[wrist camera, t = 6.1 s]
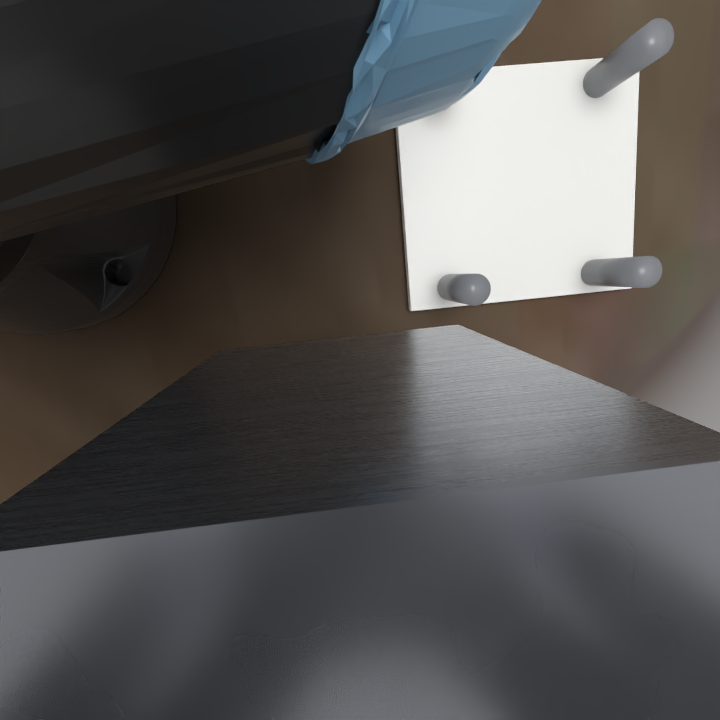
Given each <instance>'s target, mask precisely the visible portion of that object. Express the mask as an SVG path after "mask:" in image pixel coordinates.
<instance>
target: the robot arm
mask: <svg viewBox="0 0 720 720" xmlns="http://www.w3.org/2000/svg"><path fill="white" fill-rule="evenodd" d="M540 2H541V0H0V332H6V333H12V334H29V335H41V334H54V333H60V332H66V331H70V330H75V329H80V328H85V327H89V326H93V325H96V324H99V323H102V322H104V321H107V320H109V319H111V318H113V317H115V316H117V315H119V314H120V313H122V312H124V311H125V310H127V309H128V308H130V307H131V306H132V305H133V304H135V303H136V302H137V301H138V300H139V299H140V298H141V297H142V296H143V295H144V294H145V293H146V292H147V291H148V290H149V289H150V288H151V286H152V285H153V284H154V282H155V281H156V279H157V278H158V276H159V275H160V273H161V271H162V269H163V267H164V265H165V263H166V261H167V258H168V256H169V253H170V250H171V247H172V243H173V239H174V234H175V227H176V211H177V206H176V194H179V193H182V192H186V191H190V190H193V189H197V188H201V187H204V186H208V185H212V184H215V183H219V182H223V181H226V180H230V179H234V178H237V177H241V176H245V175H249V174H252V173H256V172H260V171H263V170H267V169H271V168H274V167H278V166H282V165H285V164H289V163H293V162H296V161H300V160H305V161H307V162H308V163H310V164H315V163H319V162H323V161H326V160H329V159H331V158H332V157H334V156H335V155H337V154H338V153H340V152H341V151H342V150H343V148H344V147H345V146H346V145H347V144H348V143H351V142H354V141H357V140H360V139H363V138H366V137H369V136H372V135H375V134H378V133H381V132H384V131H387V130H390V129H392V128H395V127H398V126H401V125H404V124H407V123H410V122H413V121H416V120H419V119H422V118H425V117H428V116H431V115H433V114H436V113H438V112H440V111H442V110H444V109H446V108H448V107H449V106H451V105H453V104H454V103H456V102H457V101H459V100H461V99H462V98H463V97H464V96H466V95H467V94H468V93H469V92H470V91H472V90H473V89H474V88H475V87H476V86H478V85H479V84H480V83H481V81H482V80H483V79H484V77H485V76H486V75H487V73H488V72H489V71H490V69H491V68H492V66H493V65H494V64H495V62H496V61H497V59H498V58H499V56H500V54H501V52H502V51H503V50H505V49H506V48H507V46H508V44H509V43H510V42H512V41H513V40H514V39H515V38H516V37H517V36H518V35H519V34H520V33H521V32H522V30H523V29H524V27H525V26H526V25H527V23H528V22H529V20H530V19H531V17H532V16H533V14H534V12H535V11H536V9H537V7H538V6H539V4H540Z"/></svg>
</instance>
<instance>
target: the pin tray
mask: <svg viewBox="0 0 720 720" xmlns="http://www.w3.org/2000/svg"><path fill="white" fill-rule="evenodd" d="M673 41H674V31H673V27H672V25H671V24H670V23H669V22H668V21H667V20H665V19H663V18H656V19H653V20H651V21H650V22H648V23H647V24H646V25H645V26H643V27H642V28H641V29H640V30H638V31H637V32H636V33H635V34H633V35H632V36H631V37H630V38H628V39H627V40H626V41H625V42H623V43H622V44H621V45H620V46H618V47H617V48H616V49H615V50H613V51H612V52H611V53H610V54H608V55H607V56H606V57H605V58H599V59H586V60H573V61H561V62H548V63H535V64H522V65H510V66H497V67H492V68H491V69H490V71H489V72H488V73H487V75H486V76H485V77H484V79H483V80H482V81H481V83H480V84H479V85H478V86H476V87H475V88H474V89H473V90H472V91H470V92H469V93H468V94H467V95H466V96H464V97H463V98H462V99H461V100H459V101H457V102H456V103H454V104H453V105H451V106H449V107H448V108H446V109H444V110H442V111H440V112H438V113H436V114H433V115H431V116H428V117H425V118H422V119H419V120H416V121H413V122H410V123H407V124H404V125H401V126H398V127H395V128H396V142H397V156H398V169H399V183H400V197H401V210H402V224H403V238H404V251H405V265H406V278H407V292H408V306H409V310H410V311H418V310H427V309H437V308H447V307H456V306H466V305H472V306H477V305H480V304H485V303H494V302H504V301H513V300H523V299H533V298H542V297H552V296H561V295H571V294H580V293H590V292H599V291H609V290H619V289H628V288H632V287H636V288H648V287H651V286H653V285H655V284H656V283H657V282H658V281H659V279H660V277H661V275H662V265H661V262H660V261H659V260H658V259H657V258H656V257H653V256H641V257H633V233H634V205H635V177H636V150H637V122H638V94H639V71H641V70H642V69H644V68H645V67H647V66H648V65H650V64H651V63H653V62H654V61H656V60H657V59H659V58H660V57H662V56H663V55H665V54H666V53H667V52H668V51H669V50H670V48H671V46H672V44H673Z"/></svg>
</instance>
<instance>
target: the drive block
mask: <svg viewBox="0 0 720 720" xmlns="http://www.w3.org/2000/svg"><path fill="white" fill-rule="evenodd" d="M0 720H720V433H719V432H717V431H714V430H712V429H710V428H707V427H705V426H702V425H700V424H698V423H695V422H693V421H690V420H688V419H685V418H683V417H681V416H678V415H676V414H673V413H671V412H668V411H666V410H663V409H661V408H659V407H656V406H654V405H651V404H649V403H647V402H644V401H641V400H639V399H637V398H634V397H632V396H630V395H627V394H625V393H622V392H620V391H618V390H615V389H613V388H610V387H608V386H605V385H603V384H601V383H598V382H596V381H593V380H591V379H588V378H586V377H584V376H581V375H579V374H576V373H574V372H571V371H569V370H567V369H564V368H562V367H559V366H557V365H555V364H552V363H550V362H547V361H545V360H542V359H540V358H538V357H535V356H533V355H530V354H528V353H525V352H523V351H521V350H518V349H516V348H513V347H511V346H508V345H506V344H504V343H501V342H499V341H496V340H494V339H492V338H489V337H487V336H484V335H482V334H479V333H477V332H475V331H472V330H470V329H467V328H465V327H462V326H460V325H450V326H441V327H432V328H422V329H413V330H404V331H394V332H385V333H376V334H366V335H357V336H347V337H338V338H329V339H319V340H310V341H301V342H291V343H282V344H273V345H263V346H254V347H244V348H235V349H226V350H220V351H218V352H217V353H215V354H214V355H213V356H211V357H210V358H208V359H207V360H205V361H204V362H203V363H201V364H200V365H198V366H197V367H196V368H194V369H193V370H191V371H190V372H188V373H187V374H186V375H184V376H183V377H181V378H180V379H178V380H177V381H176V382H174V383H173V384H171V385H170V386H168V387H167V388H166V389H164V390H163V391H161V392H160V393H159V394H157V395H156V396H154V397H153V398H151V399H150V400H149V401H147V402H146V403H144V404H143V405H141V406H140V407H139V408H137V409H136V410H134V411H133V412H131V413H130V414H129V415H127V416H126V417H124V418H123V419H121V420H120V421H119V422H117V423H116V424H114V425H113V426H112V427H110V428H109V429H107V430H106V431H104V432H103V433H102V434H100V435H99V436H97V437H96V438H94V439H93V440H92V441H90V442H89V443H87V444H86V445H84V446H83V447H82V448H80V449H79V450H77V451H76V452H75V453H73V454H72V455H70V456H69V457H67V458H66V459H65V460H63V461H62V462H60V463H59V464H57V465H56V466H55V467H53V468H52V469H50V470H49V471H47V472H46V473H45V474H43V475H42V476H40V477H39V478H38V479H36V480H35V481H33V482H32V483H30V484H29V485H28V486H26V487H25V488H23V489H22V490H20V491H19V492H18V493H16V494H15V495H13V496H12V497H10V498H9V499H8V500H6V501H5V502H3V503H2V504H0Z"/></svg>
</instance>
